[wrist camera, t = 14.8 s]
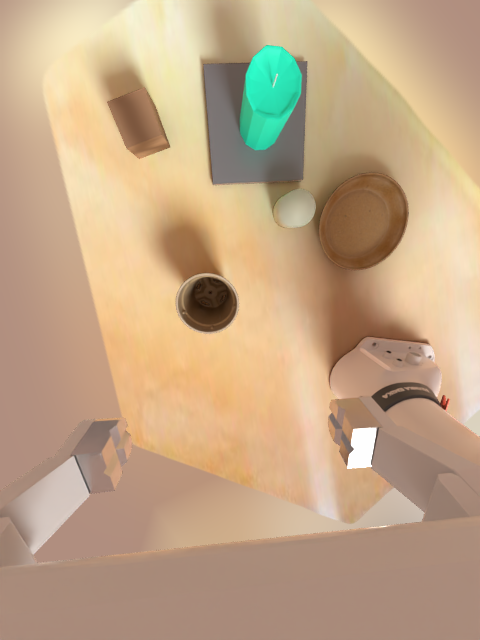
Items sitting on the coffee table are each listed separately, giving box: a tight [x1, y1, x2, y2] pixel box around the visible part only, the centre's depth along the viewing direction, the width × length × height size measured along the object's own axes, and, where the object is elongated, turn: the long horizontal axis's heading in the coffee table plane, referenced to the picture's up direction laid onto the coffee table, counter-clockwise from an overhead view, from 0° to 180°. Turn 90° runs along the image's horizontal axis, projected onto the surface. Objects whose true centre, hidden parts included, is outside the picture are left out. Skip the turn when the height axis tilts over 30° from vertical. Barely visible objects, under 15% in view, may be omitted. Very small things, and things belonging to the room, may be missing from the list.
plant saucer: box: [319, 173, 409, 270], centre depth 40 cm, size 15×15×3 cm
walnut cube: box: [107, 87, 170, 159], centre depth 32 cm, size 5×5×5 cm
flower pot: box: [176, 273, 239, 334], centre depth 39 cm, size 9×9×9 cm
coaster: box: [203, 61, 307, 185], centre depth 35 cm, size 14×14×1 cm
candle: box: [240, 45, 302, 150], centre depth 29 cm, size 6×6×12 cm
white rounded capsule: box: [273, 189, 316, 228], centre depth 37 cm, size 5×5×6 cm
